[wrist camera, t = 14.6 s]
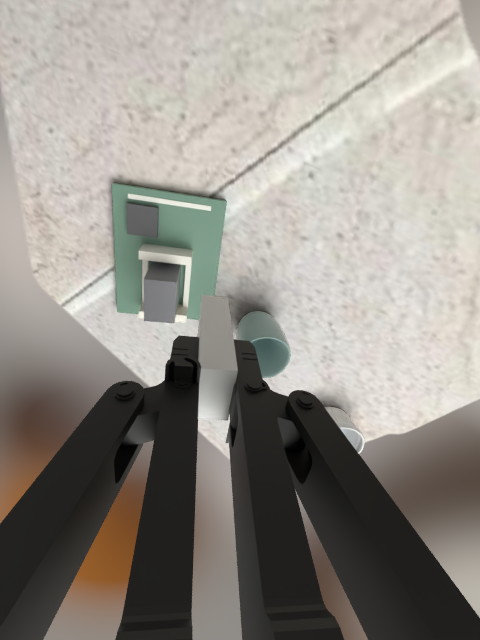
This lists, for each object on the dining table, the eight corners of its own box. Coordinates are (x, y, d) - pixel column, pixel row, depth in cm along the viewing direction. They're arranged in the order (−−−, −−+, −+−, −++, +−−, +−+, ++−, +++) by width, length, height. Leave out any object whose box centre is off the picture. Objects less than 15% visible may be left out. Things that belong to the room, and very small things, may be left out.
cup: (227, 336, 53) (231, 373, 45) (242, 299, 50) (249, 330, 41) (267, 346, 55) (278, 383, 47) (284, 311, 52) (299, 343, 43)
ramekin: (362, 419, 68) (377, 445, 62) (317, 449, 72) (327, 476, 66) (327, 392, 63) (340, 417, 57) (281, 426, 67) (288, 453, 61)
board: (114, 182, 40) (103, 186, 36) (226, 200, 42) (228, 206, 38) (119, 308, 49) (111, 323, 45) (210, 317, 51) (211, 332, 47)
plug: (153, 258, 44) (143, 279, 37) (181, 261, 45) (176, 282, 38) (153, 298, 47) (144, 324, 40) (179, 300, 48) (174, 326, 41)
